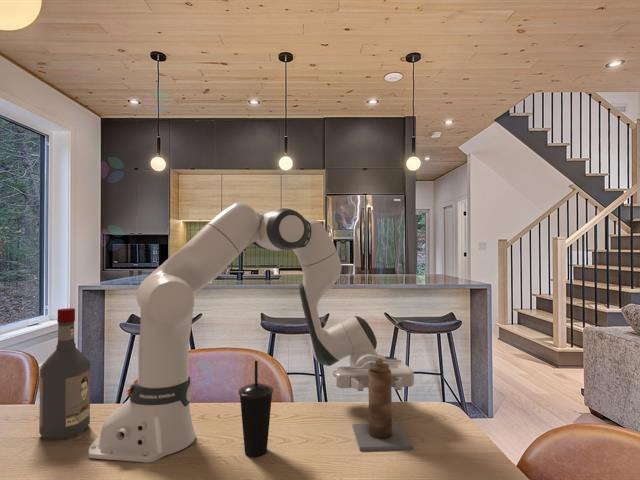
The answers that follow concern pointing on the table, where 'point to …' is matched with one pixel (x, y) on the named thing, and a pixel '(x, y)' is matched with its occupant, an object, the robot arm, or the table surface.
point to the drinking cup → (255, 416)
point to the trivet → (369, 443)
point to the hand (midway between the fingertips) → (379, 387)
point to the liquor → (64, 385)
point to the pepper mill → (380, 400)
